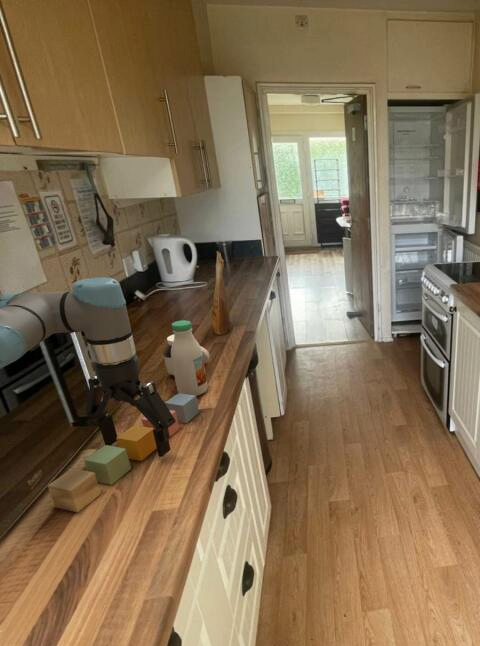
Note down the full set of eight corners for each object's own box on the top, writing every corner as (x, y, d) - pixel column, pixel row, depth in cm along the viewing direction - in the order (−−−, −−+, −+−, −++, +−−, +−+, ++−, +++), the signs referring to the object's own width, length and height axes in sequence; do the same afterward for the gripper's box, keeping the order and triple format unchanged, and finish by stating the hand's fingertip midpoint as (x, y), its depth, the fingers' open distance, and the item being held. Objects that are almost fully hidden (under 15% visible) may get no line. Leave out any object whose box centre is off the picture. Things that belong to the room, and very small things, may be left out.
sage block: (90, 480, 84) (83, 459, 82) (110, 464, 89) (105, 444, 87) (111, 484, 83) (105, 464, 81) (131, 468, 88) (125, 448, 86)
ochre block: (121, 457, 91) (115, 437, 89) (138, 443, 95) (134, 424, 93) (141, 461, 90) (136, 441, 88) (158, 447, 94) (153, 428, 92)
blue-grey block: (168, 420, 104) (164, 402, 102) (181, 410, 109) (178, 392, 107) (186, 423, 103) (182, 405, 101) (199, 412, 108) (196, 395, 106)
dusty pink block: (145, 437, 97) (141, 419, 95) (161, 425, 102) (157, 407, 100) (164, 441, 96) (160, 422, 94) (179, 429, 101) (175, 410, 99)
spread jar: (167, 381, 123) (159, 344, 118) (169, 365, 132) (162, 330, 128) (211, 375, 127) (206, 338, 122) (210, 360, 136) (205, 326, 132)
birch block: (55, 507, 77) (47, 485, 75) (79, 488, 82) (72, 467, 80) (78, 512, 76) (70, 490, 74) (101, 493, 81) (94, 472, 79)
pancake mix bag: (234, 319, 173) (225, 249, 162) (232, 336, 156) (222, 259, 145) (216, 320, 171) (206, 249, 160) (212, 337, 154) (201, 260, 143)
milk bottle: (190, 400, 113) (177, 330, 105) (171, 393, 117) (158, 324, 109) (214, 388, 119) (203, 321, 111) (195, 382, 123) (184, 316, 115)
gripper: (183, 357, 84) (199, 446, 93) (79, 344, 89) (104, 429, 98) (156, 373, 78) (176, 468, 86) (46, 358, 83) (75, 449, 91)
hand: (138, 448), depth 92 cm, fingers open, 13 cm apart
